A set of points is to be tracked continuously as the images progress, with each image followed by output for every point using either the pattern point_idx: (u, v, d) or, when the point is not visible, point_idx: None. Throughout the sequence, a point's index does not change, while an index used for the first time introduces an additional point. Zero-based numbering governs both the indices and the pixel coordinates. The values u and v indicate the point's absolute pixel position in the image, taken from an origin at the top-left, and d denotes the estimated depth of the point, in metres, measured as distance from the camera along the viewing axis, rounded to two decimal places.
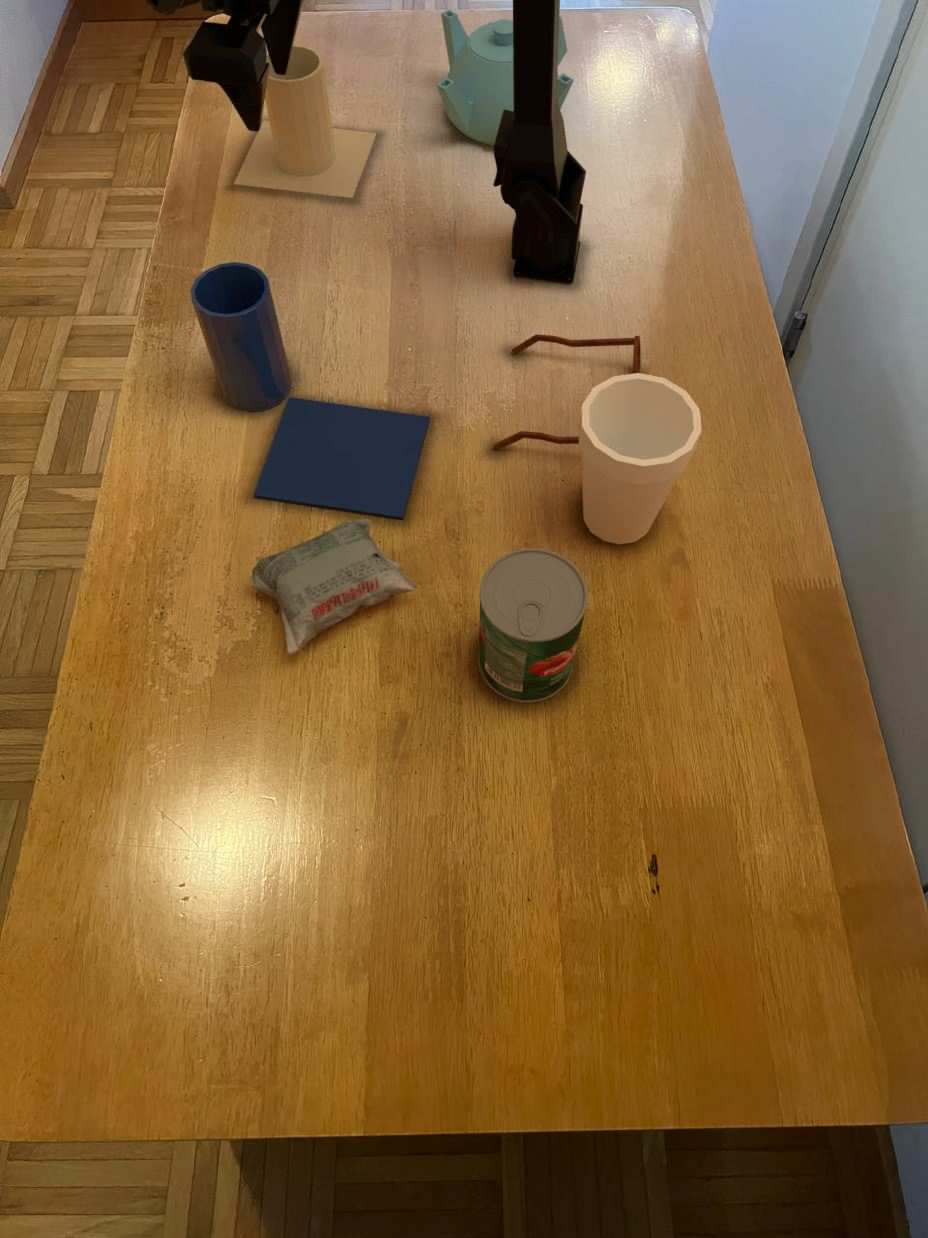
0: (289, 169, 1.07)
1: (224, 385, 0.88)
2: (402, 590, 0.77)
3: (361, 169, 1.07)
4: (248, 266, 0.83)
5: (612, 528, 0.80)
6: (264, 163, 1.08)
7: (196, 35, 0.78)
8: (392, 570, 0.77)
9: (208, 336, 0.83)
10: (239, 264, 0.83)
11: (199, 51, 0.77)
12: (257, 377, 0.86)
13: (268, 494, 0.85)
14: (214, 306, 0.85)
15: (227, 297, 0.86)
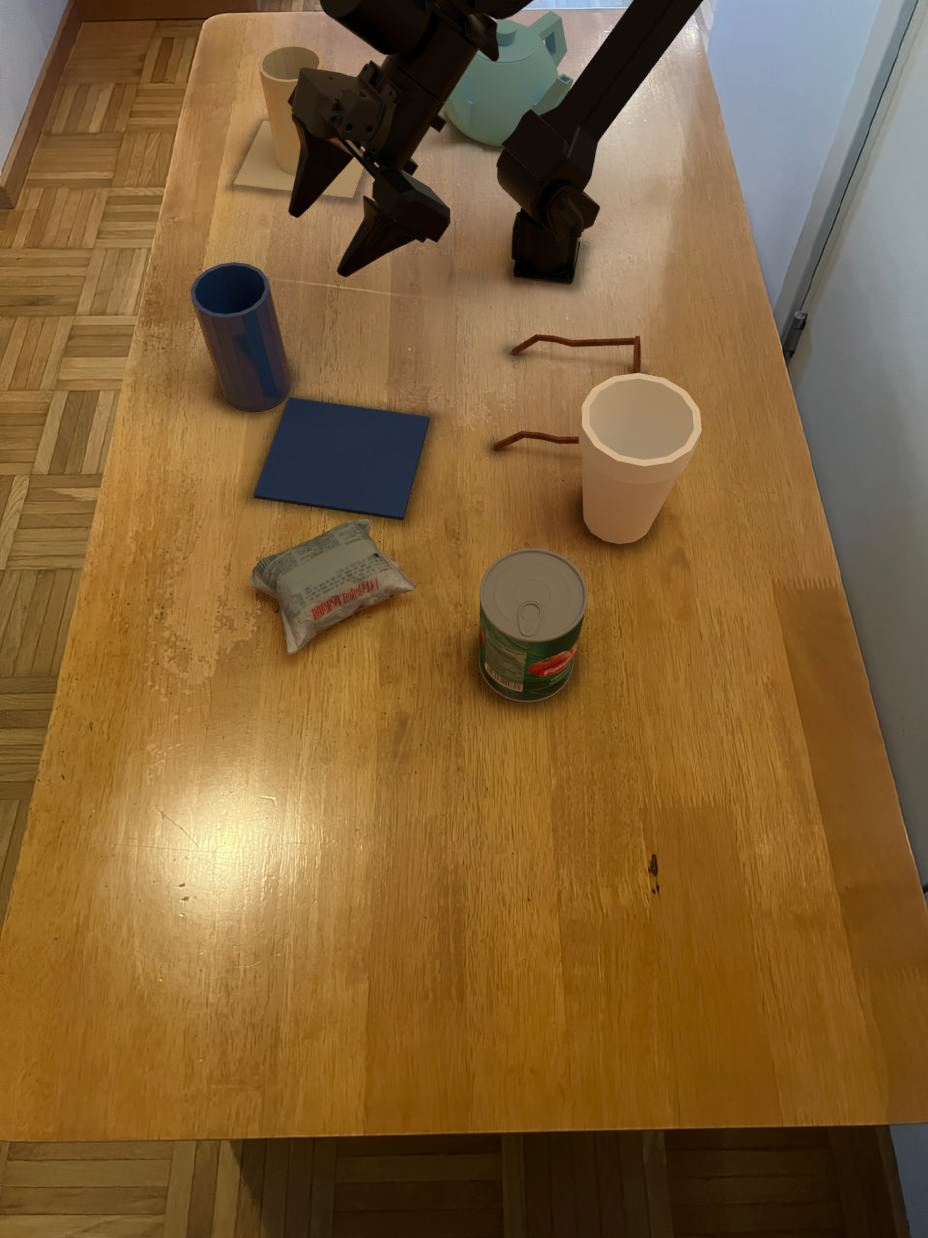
0: (289, 169, 1.07)
1: (224, 385, 0.88)
2: (402, 590, 0.77)
3: (361, 169, 1.07)
4: (248, 266, 0.83)
5: (612, 528, 0.80)
6: (264, 163, 1.08)
7: (408, 181, 0.73)
8: (392, 570, 0.77)
9: (208, 336, 0.83)
10: (239, 264, 0.83)
11: (421, 199, 0.73)
12: (257, 377, 0.86)
13: (268, 494, 0.85)
14: (214, 306, 0.85)
15: (227, 297, 0.86)
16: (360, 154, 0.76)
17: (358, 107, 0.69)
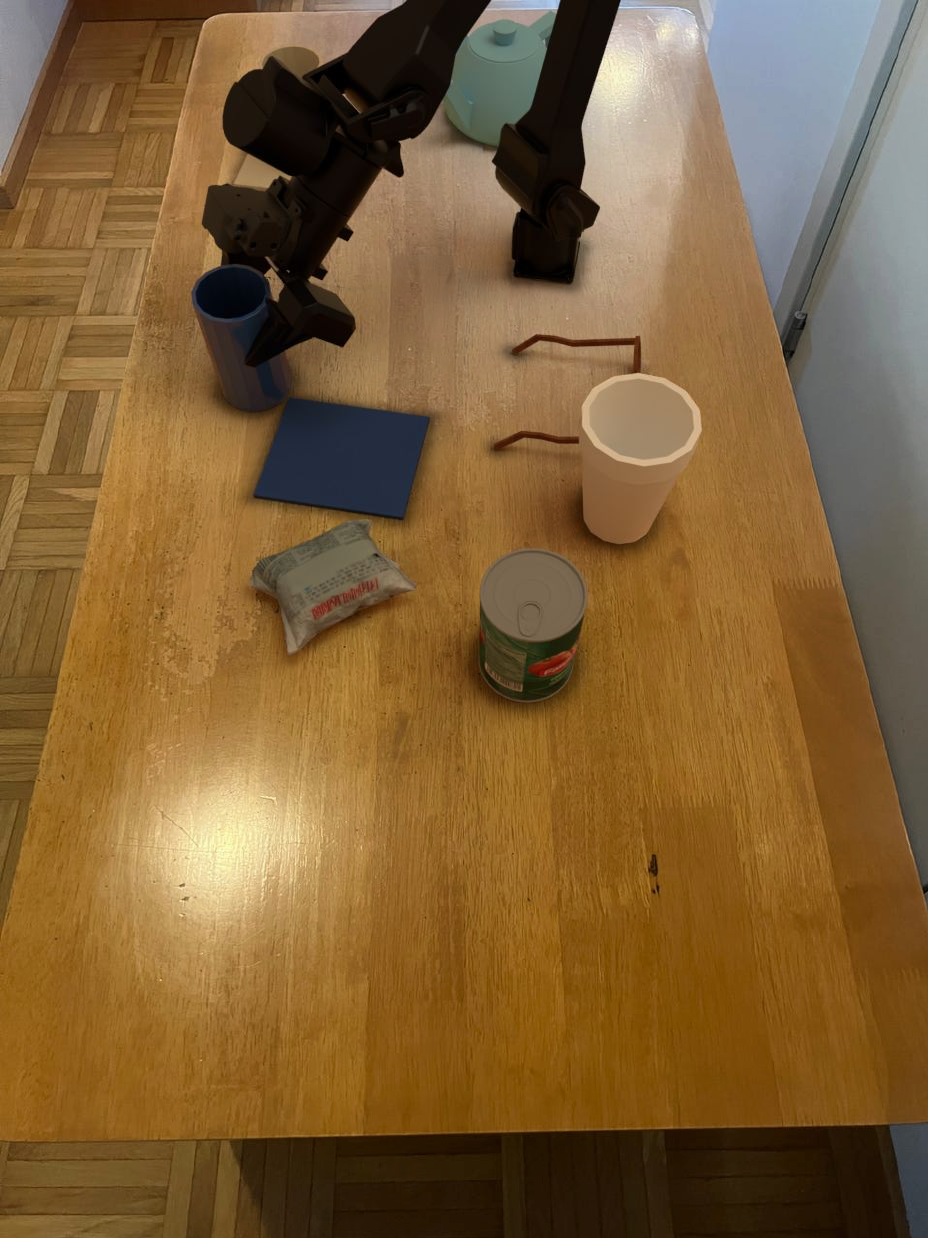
0: None
1: (224, 386, 0.88)
2: (402, 590, 0.77)
3: None
4: (249, 268, 0.82)
5: (612, 528, 0.80)
6: (264, 163, 1.08)
7: (312, 293, 0.76)
8: (392, 570, 0.77)
9: (209, 339, 0.83)
10: (240, 266, 0.82)
11: (324, 311, 0.76)
12: (257, 379, 0.86)
13: (268, 494, 0.85)
14: (214, 307, 0.85)
15: (228, 297, 0.85)
16: (270, 262, 0.80)
17: (261, 228, 0.73)
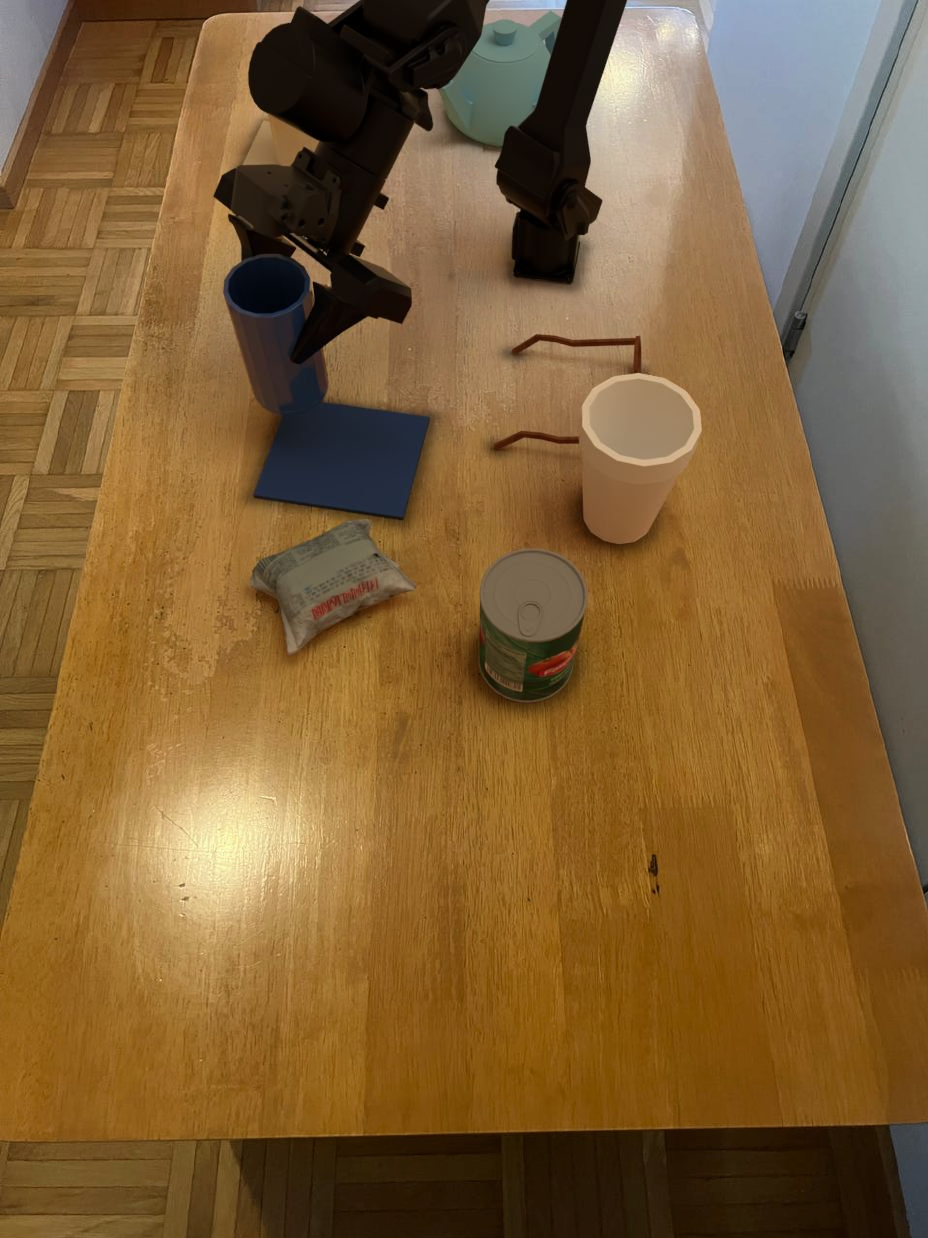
0: None
1: (263, 391, 0.80)
2: (402, 590, 0.77)
3: None
4: (278, 256, 0.75)
5: (612, 528, 0.80)
6: (264, 163, 1.08)
7: (368, 268, 0.69)
8: (392, 570, 0.77)
9: (249, 340, 0.75)
10: (267, 255, 0.75)
11: (385, 285, 0.70)
12: (302, 377, 0.79)
13: (268, 494, 0.85)
14: (242, 306, 0.77)
15: (254, 293, 0.78)
16: (306, 244, 0.73)
17: (309, 202, 0.66)
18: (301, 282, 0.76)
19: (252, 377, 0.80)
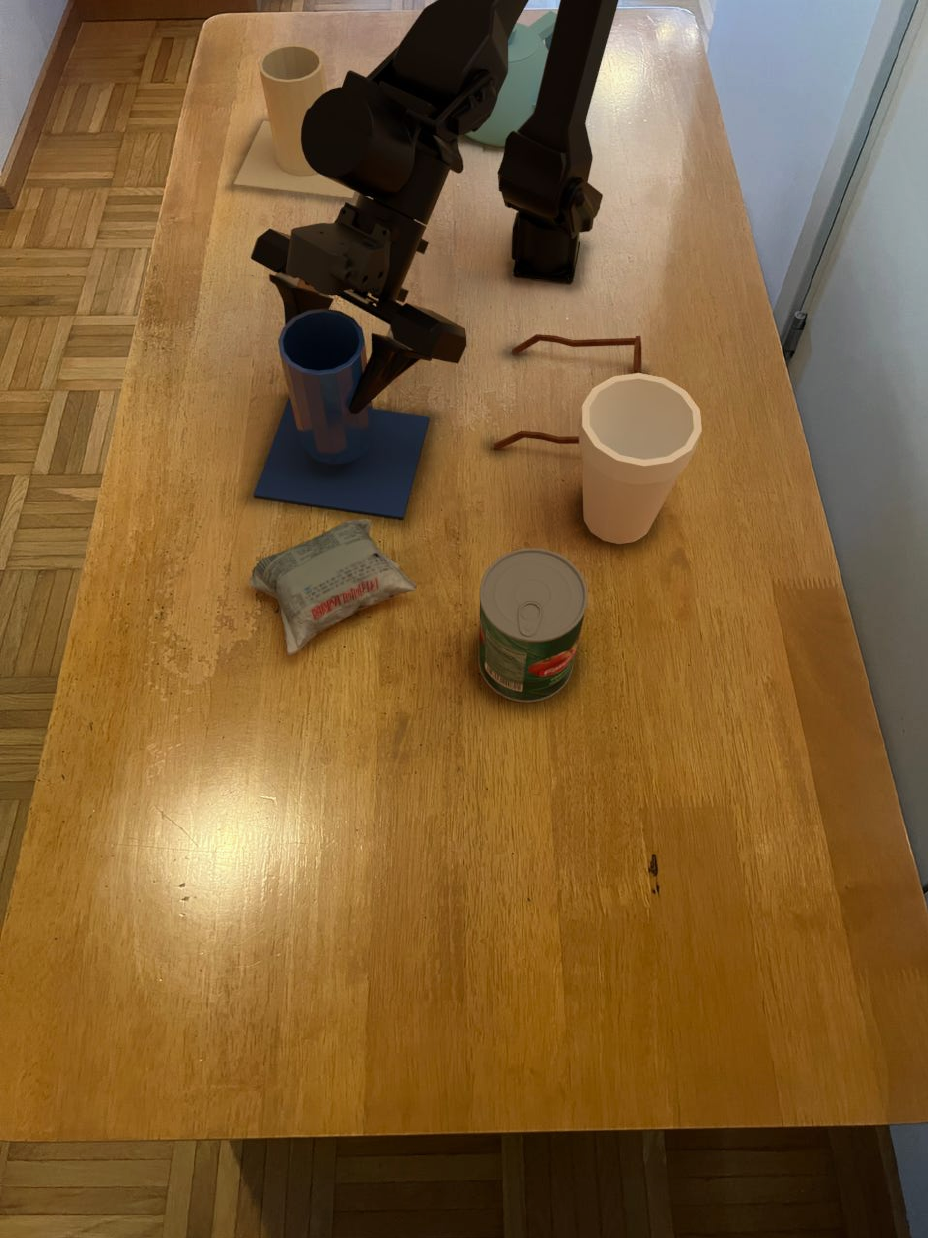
0: (289, 169, 1.07)
1: (318, 444, 0.81)
2: (402, 590, 0.77)
3: None
4: (326, 311, 0.75)
5: (612, 528, 0.80)
6: (264, 163, 1.08)
7: (428, 314, 0.71)
8: (392, 570, 0.77)
9: (308, 397, 0.75)
10: (315, 311, 0.75)
11: (446, 329, 0.71)
12: (357, 425, 0.80)
13: (268, 494, 0.85)
14: None
15: (301, 349, 0.78)
16: (356, 296, 0.74)
17: (372, 258, 0.67)
18: (350, 333, 0.77)
19: (306, 431, 0.80)
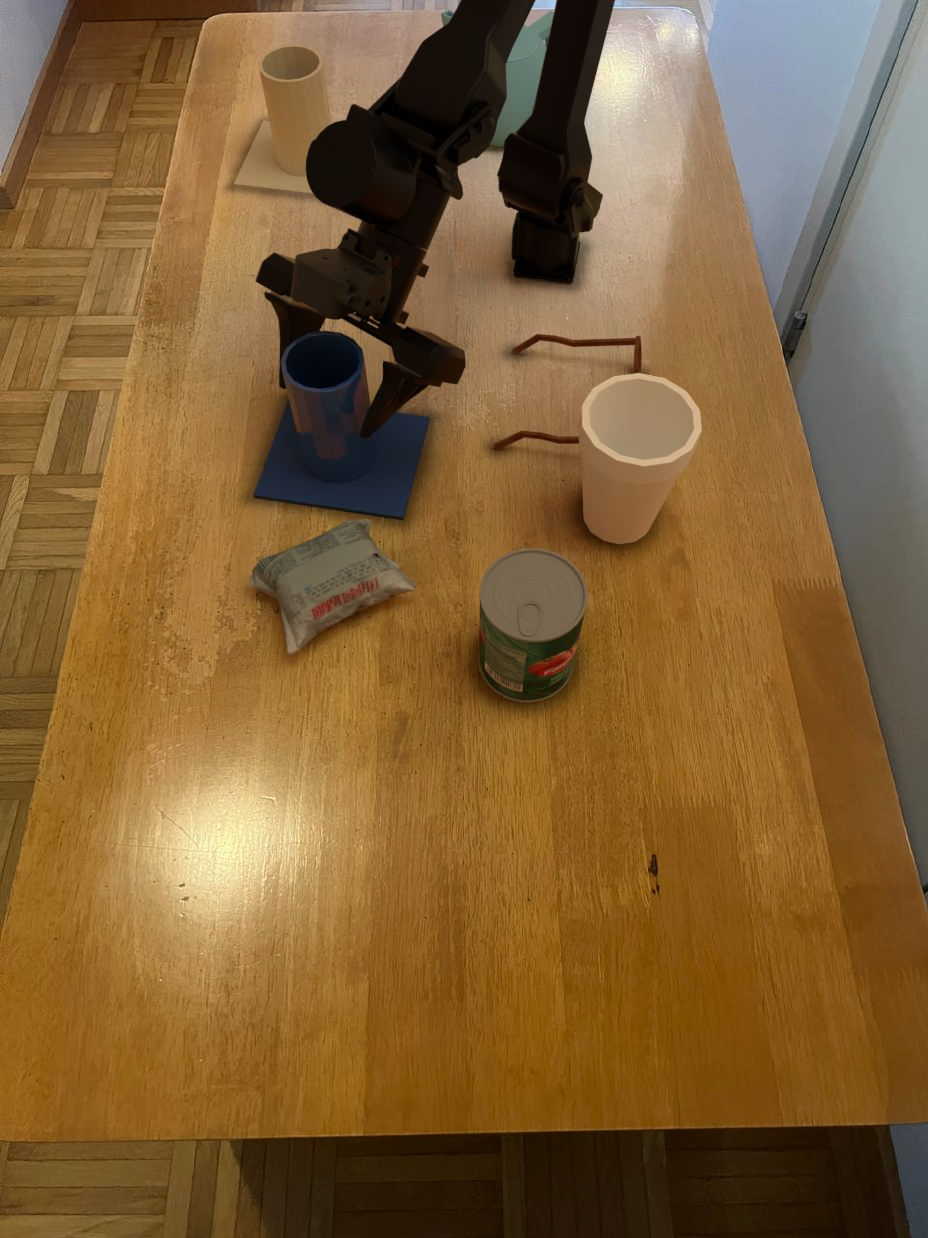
0: (289, 169, 1.07)
1: (321, 462, 0.83)
2: (402, 590, 0.77)
3: None
4: (326, 333, 0.78)
5: (612, 528, 0.80)
6: (264, 163, 1.08)
7: (428, 338, 0.73)
8: (392, 570, 0.77)
9: (311, 415, 0.78)
10: (316, 333, 0.78)
11: (446, 352, 0.73)
12: (359, 443, 0.82)
13: (268, 494, 0.85)
14: None
15: (304, 371, 0.81)
16: (358, 319, 0.76)
17: (374, 284, 0.69)
18: (350, 354, 0.79)
19: (309, 450, 0.83)
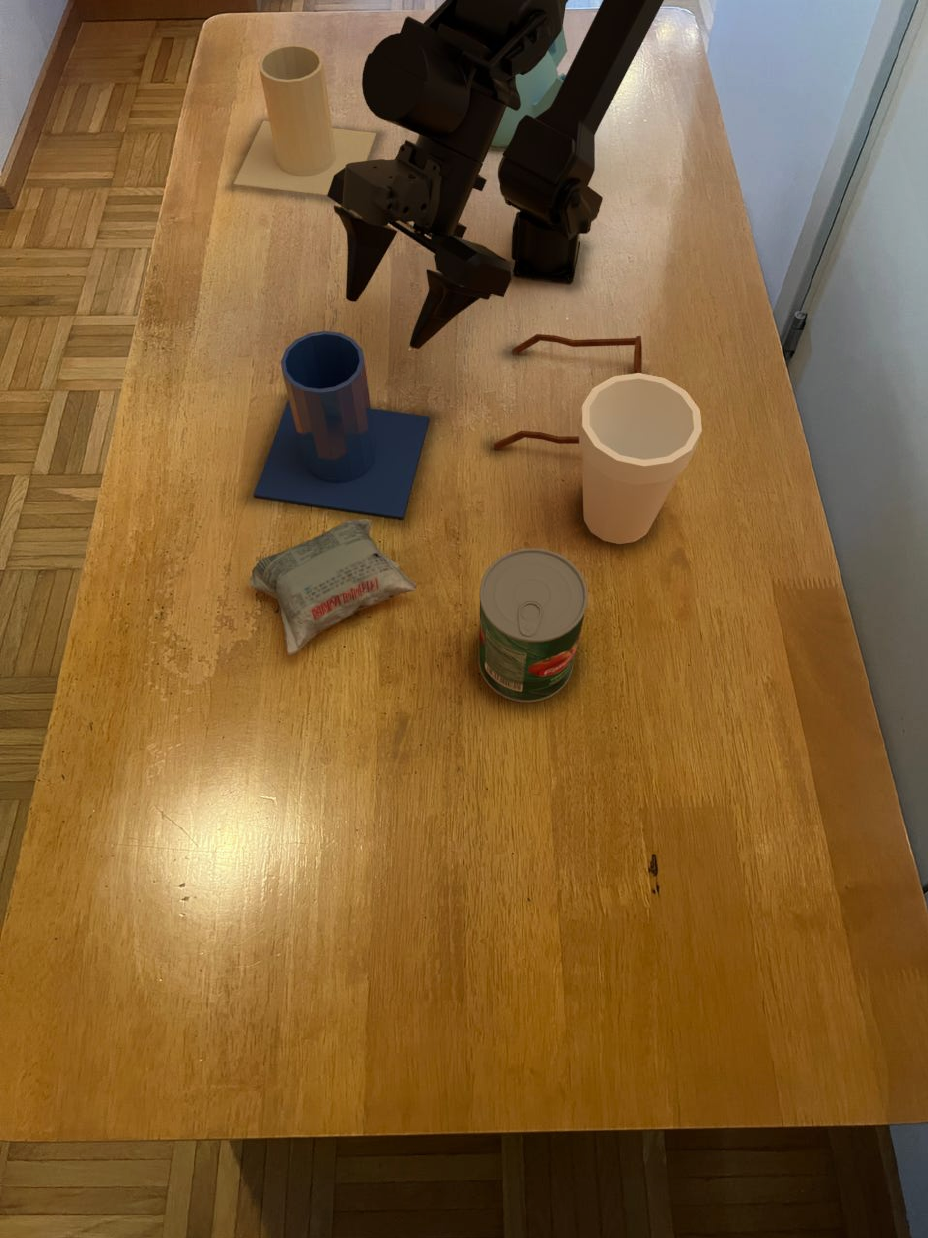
0: (289, 169, 1.07)
1: (321, 462, 0.83)
2: (402, 590, 0.77)
3: None
4: (326, 333, 0.78)
5: (612, 528, 0.80)
6: (264, 163, 1.08)
7: (469, 246, 0.75)
8: (392, 570, 0.77)
9: (311, 415, 0.78)
10: (316, 333, 0.78)
11: (485, 260, 0.75)
12: (359, 443, 0.82)
13: (268, 494, 0.85)
14: None
15: (304, 371, 0.81)
16: (412, 230, 0.78)
17: (412, 189, 0.71)
18: (350, 354, 0.79)
19: (309, 450, 0.83)
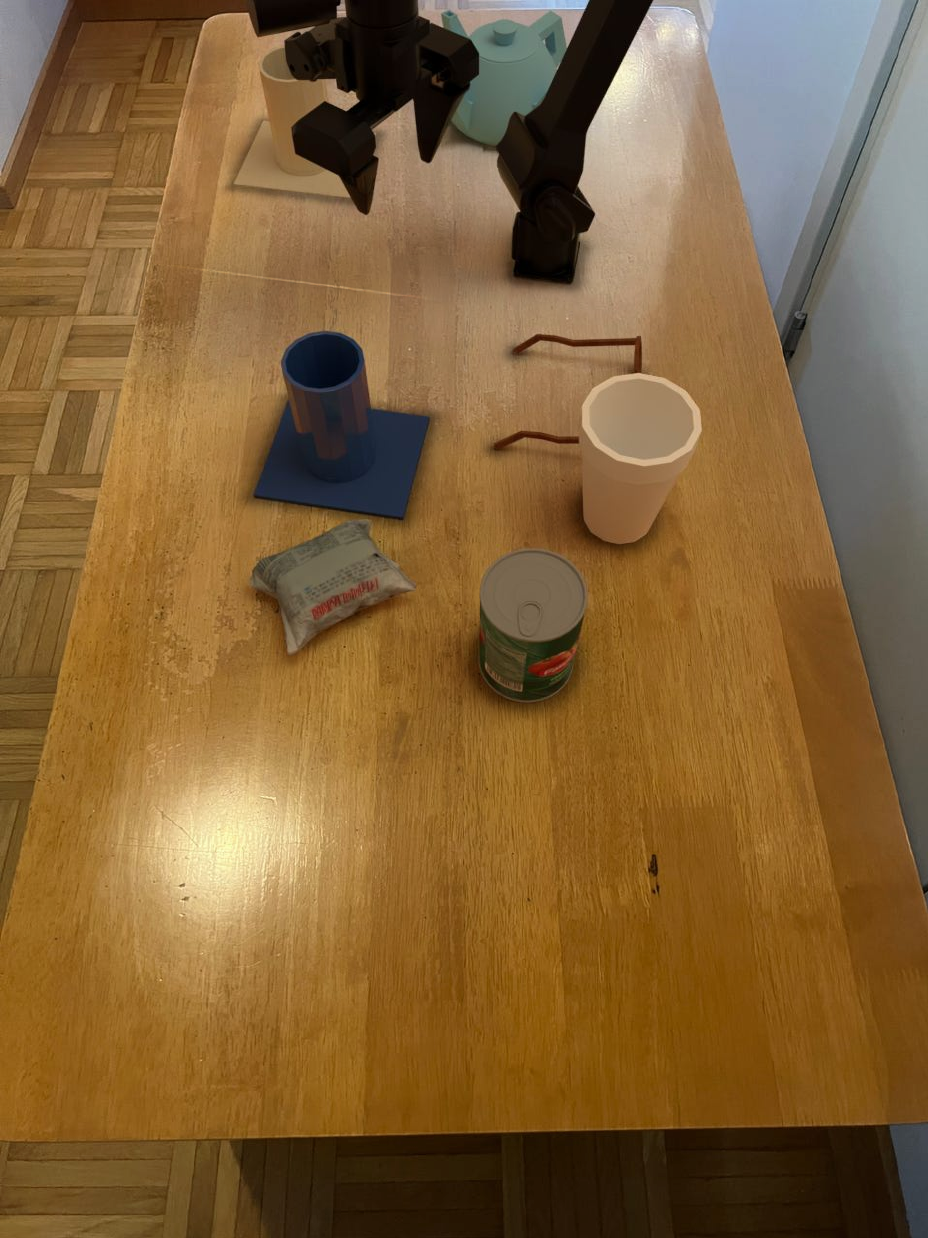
0: (289, 169, 1.07)
1: (321, 462, 0.83)
2: (402, 590, 0.77)
3: None
4: (326, 333, 0.78)
5: (612, 528, 0.80)
6: (264, 163, 1.08)
7: (308, 113, 0.75)
8: (392, 570, 0.77)
9: (311, 415, 0.78)
10: (316, 333, 0.78)
11: (302, 130, 0.75)
12: (359, 443, 0.82)
13: (268, 494, 0.85)
14: None
15: (304, 371, 0.81)
16: None
17: (287, 48, 0.76)
18: (350, 354, 0.79)
19: (309, 450, 0.83)
